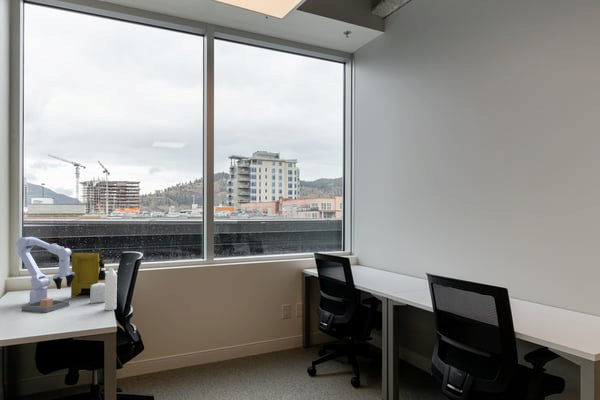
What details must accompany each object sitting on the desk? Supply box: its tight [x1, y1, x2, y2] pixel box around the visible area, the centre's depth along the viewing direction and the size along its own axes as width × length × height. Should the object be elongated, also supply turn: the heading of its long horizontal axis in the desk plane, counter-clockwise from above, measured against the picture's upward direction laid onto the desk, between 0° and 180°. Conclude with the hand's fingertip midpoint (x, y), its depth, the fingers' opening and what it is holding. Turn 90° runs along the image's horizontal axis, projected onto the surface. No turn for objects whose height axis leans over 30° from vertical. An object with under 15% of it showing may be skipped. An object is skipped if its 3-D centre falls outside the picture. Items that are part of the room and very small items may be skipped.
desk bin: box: [21, 299, 70, 314], centre depth 227 cm, size 18×16×3 cm
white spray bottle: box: [101, 267, 118, 311], centre depth 226 cm, size 9×6×25 cm
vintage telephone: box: [70, 253, 109, 298], centre depth 265 cm, size 31×14×30 cm, turn 92°
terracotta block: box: [40, 297, 54, 307], centre depth 227 cm, size 5×4×5 cm
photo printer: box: [89, 282, 105, 304], centre depth 243 cm, size 10×4×12 cm, turn 123°
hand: (63, 287), depth 243 cm, fingers open, 7 cm apart
